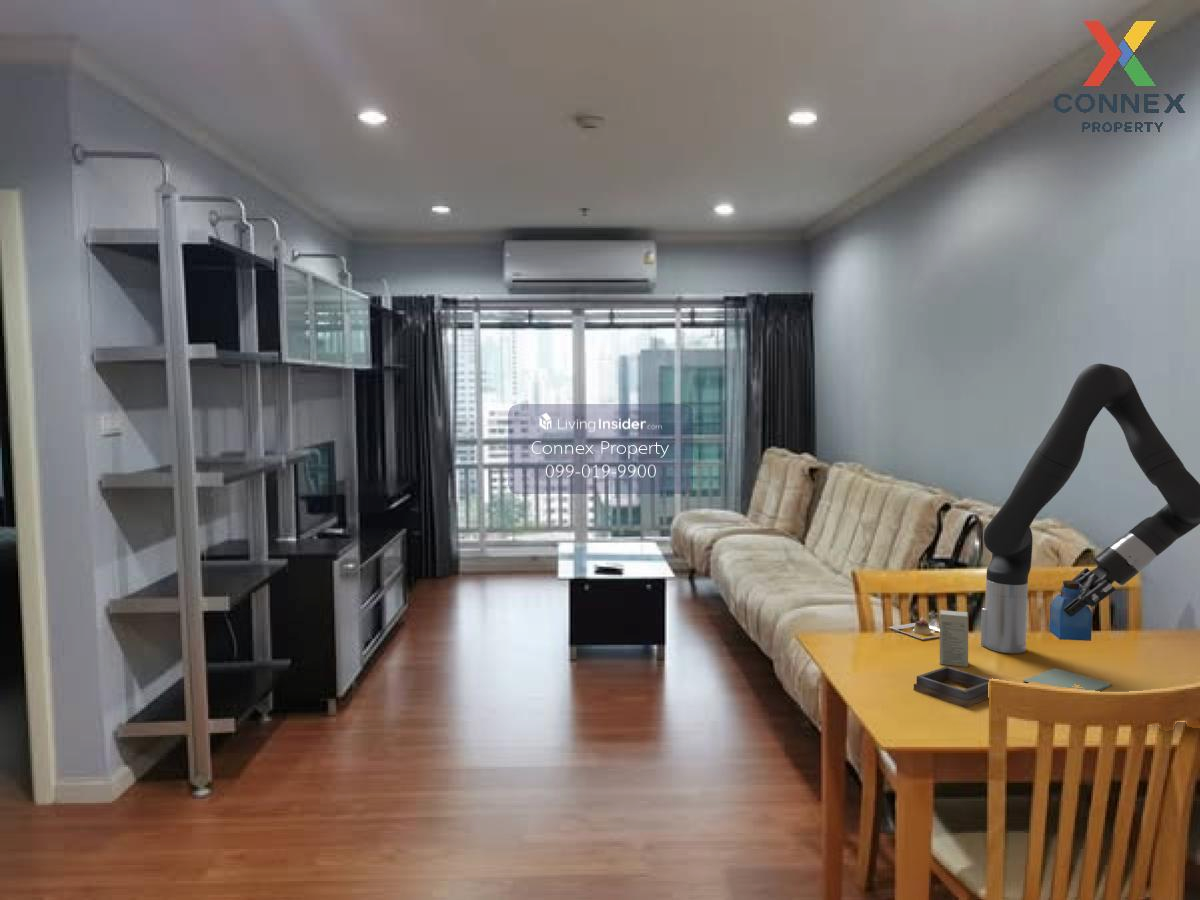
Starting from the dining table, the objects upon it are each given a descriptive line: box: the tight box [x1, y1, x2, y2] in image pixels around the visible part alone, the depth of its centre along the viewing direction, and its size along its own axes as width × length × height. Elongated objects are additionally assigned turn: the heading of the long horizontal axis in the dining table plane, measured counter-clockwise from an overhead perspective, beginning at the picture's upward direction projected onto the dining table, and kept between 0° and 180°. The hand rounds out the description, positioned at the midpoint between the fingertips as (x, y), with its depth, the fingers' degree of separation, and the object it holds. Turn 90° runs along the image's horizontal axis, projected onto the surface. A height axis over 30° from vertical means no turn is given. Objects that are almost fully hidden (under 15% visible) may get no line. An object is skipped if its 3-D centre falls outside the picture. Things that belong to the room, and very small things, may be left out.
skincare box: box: [939, 609, 969, 668], centre depth 187 cm, size 6×4×12 cm
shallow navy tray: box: [913, 665, 990, 708], centre depth 168 cm, size 12×12×3 cm
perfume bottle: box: [1049, 580, 1093, 642], centre depth 172 cm, size 6×6×12 cm
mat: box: [1022, 667, 1112, 692], centre depth 173 cm, size 12×14×1 cm
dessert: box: [888, 616, 940, 641], centre depth 212 cm, size 12×12×5 cm
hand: (1062, 609), depth 173 cm, fingers closed on perfume bottle, 6 cm apart
